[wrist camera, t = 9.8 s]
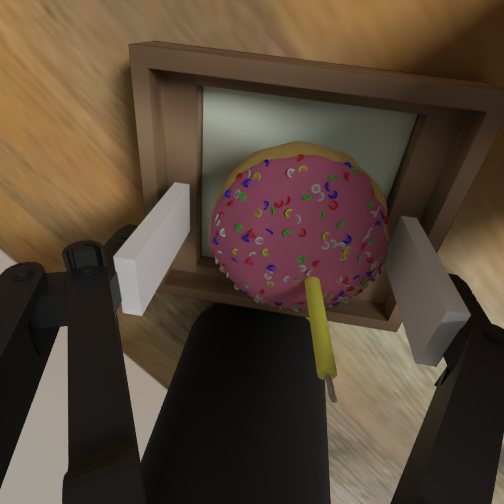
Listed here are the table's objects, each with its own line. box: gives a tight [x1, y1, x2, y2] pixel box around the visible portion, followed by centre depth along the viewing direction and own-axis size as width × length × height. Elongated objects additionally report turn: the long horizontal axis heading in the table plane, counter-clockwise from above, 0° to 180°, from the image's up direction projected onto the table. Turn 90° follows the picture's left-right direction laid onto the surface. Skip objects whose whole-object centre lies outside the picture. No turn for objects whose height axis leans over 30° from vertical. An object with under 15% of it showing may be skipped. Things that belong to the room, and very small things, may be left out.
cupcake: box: [209, 141, 388, 402], centre depth 15 cm, size 9×8×12 cm
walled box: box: [128, 41, 504, 332], centre depth 19 cm, size 14×16×3 cm
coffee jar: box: [141, 302, 331, 504], centre depth 20 cm, size 11×11×18 cm
